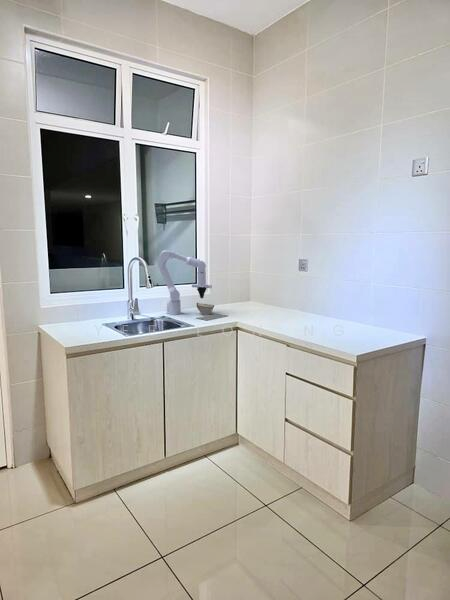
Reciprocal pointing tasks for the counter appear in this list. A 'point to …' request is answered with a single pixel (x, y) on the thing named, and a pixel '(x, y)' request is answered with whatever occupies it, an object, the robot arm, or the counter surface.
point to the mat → (212, 317)
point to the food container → (205, 308)
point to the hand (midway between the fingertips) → (201, 298)
